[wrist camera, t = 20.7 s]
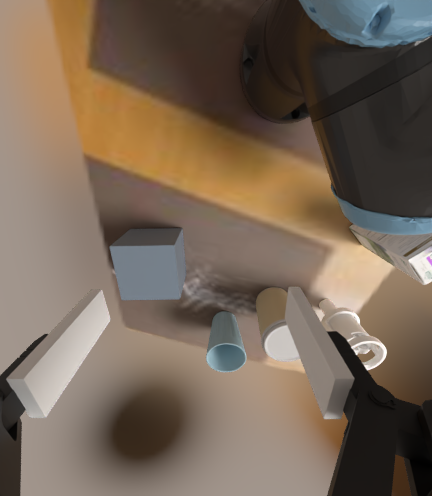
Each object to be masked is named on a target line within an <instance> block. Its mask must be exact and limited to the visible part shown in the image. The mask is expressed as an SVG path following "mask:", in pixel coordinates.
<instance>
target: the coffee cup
mask: <svg viewBox="0 0 432 496" xmlns="http://www.w3.org/2000/svg"><path fill="white" fill-rule="evenodd" d="M287 295H288V293H287V292H286V291H285V290H283V289H281V288H277V287H271V288H267V289H265V290H263V291H262V292H261V293H260V294H259V295H258V296H257V299H256V310H257V316H258V323H259V329H260V335H261V344H262V347H263V350H264V351H265V352H266V353H267V354H268V355H269V356H270V357H271V358H273V359H275V360H278V361H283V362H289V361H295V360H298V359H300V356H299V354H298V351H297V349H296V346H295V343H294V341H293V338H292V336H291V333H290V331H289V328H288V326H287V323H286V320H285V311H286V303H287Z"/></svg>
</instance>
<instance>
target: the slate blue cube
mask: <svg viewBox="0 0 432 496" xmlns="http://www.w3.org/2000/svg"><path fill="white" fill-rule="evenodd" d="M109 247H110V251H111V256H112V260H113V264H114V269H115V273H116V277H117V282H118V286H119V290H120V295H121V299H122V300H164V299H180V297H181V293H182V289H183V285H184V281H185V277H186V264H185V252H184V240H183V229H182V228H159V229H130V230H128V231H127V232H126V233H125V234H124V235H122V236H121V237H120V238H119V239H118V240H116V241H115V242H114V243H113V244H112V245H110V246H109Z"/></svg>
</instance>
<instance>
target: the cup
mask: <svg viewBox="0 0 432 496" xmlns="http://www.w3.org/2000/svg"><path fill="white" fill-rule="evenodd" d="M206 360H207V363H208V365H209V366H210V367H211V368H213V369H214V370H217V371H220V372H232V371H235V370H238V369H239V368H241V367H242V366H243V365H244V363H245V361H246V353H245V349H244V346H243V343H242V339H241V335H240V332H239V328H238V325H237V321H236V318H235V316H234V315H233V314H232V313H230V312H227V311H222V312H219V313H217V314H216V315H215V316H214V317H213V321H212V326H211V332H210V338H209V344H208V349H207V355H206Z"/></svg>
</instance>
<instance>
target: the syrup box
mask: <svg viewBox="0 0 432 496" xmlns="http://www.w3.org/2000/svg"><path fill="white" fill-rule="evenodd" d="M349 229H350V230H351V231H352V233H353V234H354V235H355V236H356V238H357V239H358V240H359V241H360V243H361V244H362V245H363V246H364V247H365V248H367V249H368V250H370V251H371V252H373V253H375V254H376V255H378V256H379V257H381V258H382V259H384V260H385V261H387V262H389V263H390V264H392V265H393V266H395V267H396V268H398V269H400V270H401V271H403V272H405V273H406V274H408V275H409V276H411V277H412V278H414V279H415V280H417V281H419V282H420V283H422V284H423V285H425V284H428V283H429V282H432V233H429V234H419V235H391V234H382V233H376V232H372V231H368V230H365V229H363V228H360V227H358V226H356V225H354V224H352V225H351V226H350V227H349Z"/></svg>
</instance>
